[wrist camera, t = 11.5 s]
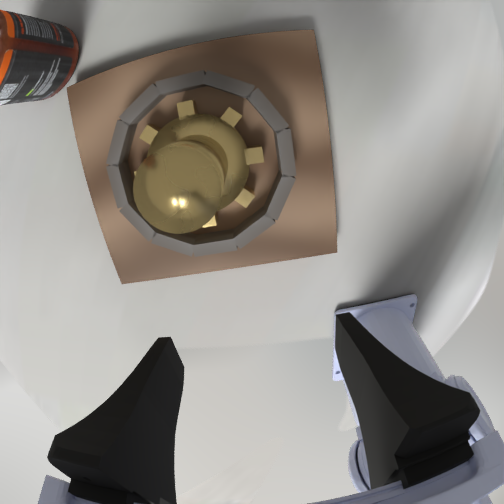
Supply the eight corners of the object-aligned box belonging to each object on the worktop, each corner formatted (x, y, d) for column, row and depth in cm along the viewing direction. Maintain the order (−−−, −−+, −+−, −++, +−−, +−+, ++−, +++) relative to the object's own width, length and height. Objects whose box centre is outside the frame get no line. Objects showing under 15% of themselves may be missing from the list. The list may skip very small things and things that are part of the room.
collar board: (332, 244, 21) (343, 263, 19) (126, 275, 22) (115, 296, 20) (309, 34, 15) (320, 23, 12) (75, 88, 15) (53, 87, 13)
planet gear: (270, 210, 19) (283, 262, 13) (156, 229, 19) (121, 284, 13) (252, 90, 15) (258, 77, 9) (129, 117, 16) (73, 125, 10)
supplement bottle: (42, 21, 12) (-63, 2, 2) (96, 34, 14) (-16, 0, 4) (13, 90, 15) (-97, 109, 4) (61, 110, 16) (-60, 135, 6)
